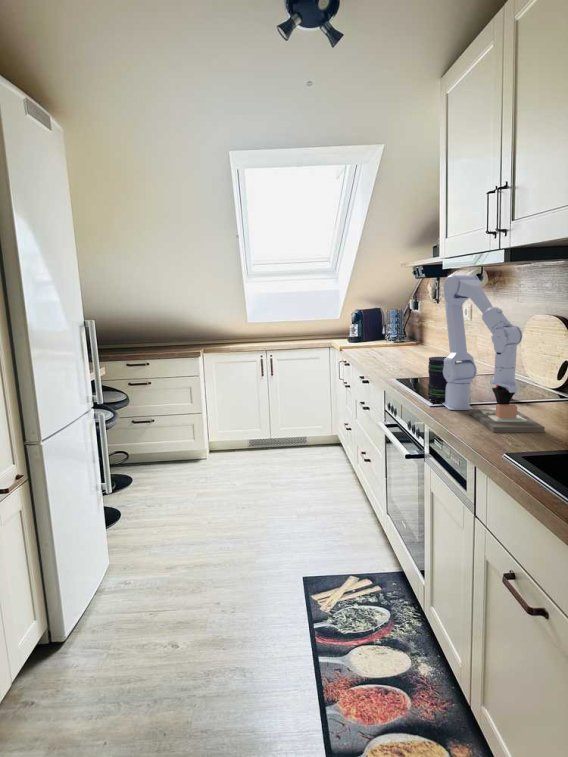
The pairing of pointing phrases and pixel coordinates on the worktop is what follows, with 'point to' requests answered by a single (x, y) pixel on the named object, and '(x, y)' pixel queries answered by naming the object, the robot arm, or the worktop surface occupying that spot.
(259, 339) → the worktop surface
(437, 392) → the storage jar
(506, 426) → the ticket board
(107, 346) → the worktop surface
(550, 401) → the worktop surface
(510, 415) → the stub
